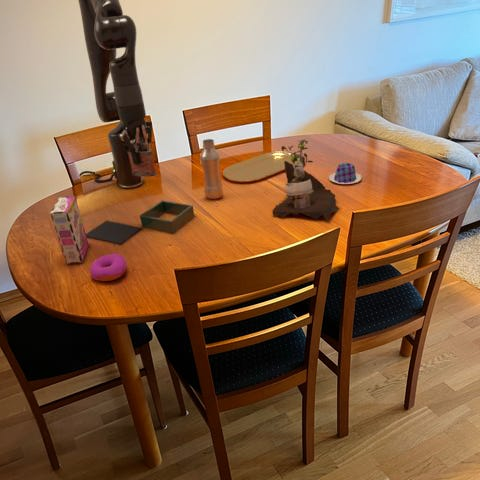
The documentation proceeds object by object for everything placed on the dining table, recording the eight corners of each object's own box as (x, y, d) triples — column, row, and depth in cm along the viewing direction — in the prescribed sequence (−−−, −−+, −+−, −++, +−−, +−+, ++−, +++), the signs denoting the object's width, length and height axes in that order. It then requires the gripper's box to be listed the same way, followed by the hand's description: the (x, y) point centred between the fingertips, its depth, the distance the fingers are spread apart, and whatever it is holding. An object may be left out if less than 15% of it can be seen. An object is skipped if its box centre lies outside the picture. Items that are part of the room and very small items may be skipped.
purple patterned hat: (351, 171, 176) (352, 157, 173) (367, 182, 167) (369, 167, 164) (323, 176, 174) (323, 163, 171) (338, 188, 165) (339, 174, 162)
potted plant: (272, 225, 151) (262, 145, 142) (287, 214, 167) (279, 141, 158) (333, 220, 143) (326, 135, 134) (342, 209, 160) (337, 132, 150)
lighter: (158, 173, 142) (152, 140, 136) (153, 177, 140) (147, 143, 133) (135, 171, 144) (128, 139, 138) (130, 175, 142) (123, 142, 136)
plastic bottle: (221, 201, 163) (215, 144, 150) (203, 200, 164) (195, 144, 152) (225, 193, 168) (220, 137, 155) (207, 193, 169) (201, 137, 157)
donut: (102, 263, 135) (98, 250, 132) (134, 265, 133) (131, 251, 130) (86, 283, 127) (82, 269, 124) (121, 285, 125) (117, 271, 122)
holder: (142, 226, 152) (139, 215, 149) (164, 210, 160) (162, 200, 158) (173, 233, 147) (171, 221, 144) (194, 216, 155) (192, 205, 152)
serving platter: (310, 162, 186) (310, 158, 185) (242, 188, 170) (242, 184, 169) (279, 152, 198) (279, 148, 197) (213, 175, 182) (213, 171, 181)
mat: (84, 236, 149) (84, 235, 149) (106, 221, 156) (106, 220, 156) (120, 244, 143) (120, 243, 143) (141, 228, 150) (141, 227, 150)
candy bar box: (83, 263, 136) (67, 211, 126) (66, 264, 136) (48, 213, 125) (90, 244, 145) (75, 195, 134) (74, 246, 144) (58, 196, 134)
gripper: (134, 94, 135) (145, 152, 146) (102, 107, 125) (117, 169, 136) (155, 95, 132) (165, 155, 143) (124, 108, 122) (137, 171, 133)
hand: (141, 161), depth 139 cm, fingers closed on lighter, 3 cm apart
